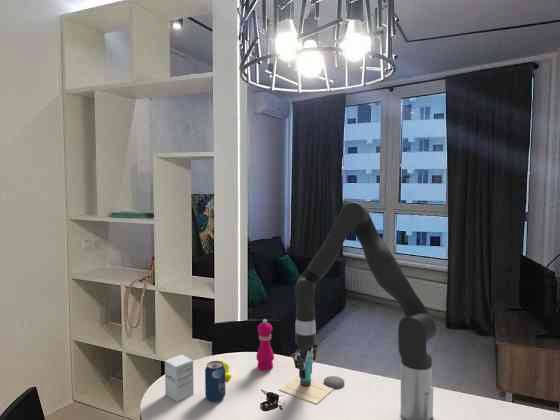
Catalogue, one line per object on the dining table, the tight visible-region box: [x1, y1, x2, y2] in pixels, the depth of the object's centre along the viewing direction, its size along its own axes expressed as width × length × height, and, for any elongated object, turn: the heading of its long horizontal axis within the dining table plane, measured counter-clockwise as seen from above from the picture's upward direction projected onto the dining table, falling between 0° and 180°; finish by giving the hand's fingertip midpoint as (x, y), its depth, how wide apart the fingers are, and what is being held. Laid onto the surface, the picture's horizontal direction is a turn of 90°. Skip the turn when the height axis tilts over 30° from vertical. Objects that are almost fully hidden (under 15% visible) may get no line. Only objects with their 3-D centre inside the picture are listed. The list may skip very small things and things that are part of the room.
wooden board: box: [278, 375, 335, 405], centre depth 139 cm, size 16×12×1 cm
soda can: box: [204, 360, 226, 403], centre depth 134 cm, size 7×7×12 cm
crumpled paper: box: [221, 359, 232, 381], centre depth 148 cm, size 6×8×8 cm
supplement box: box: [164, 354, 195, 403], centre depth 136 cm, size 7×7×13 cm
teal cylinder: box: [300, 352, 312, 387], centre depth 142 cm, size 4×4×12 cm
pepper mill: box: [255, 319, 275, 372], centre depth 156 cm, size 7×7×20 cm
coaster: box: [323, 375, 345, 389], centre depth 144 cm, size 8×8×1 cm
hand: (305, 375), depth 142 cm, fingers closed on teal cylinder, 4 cm apart
